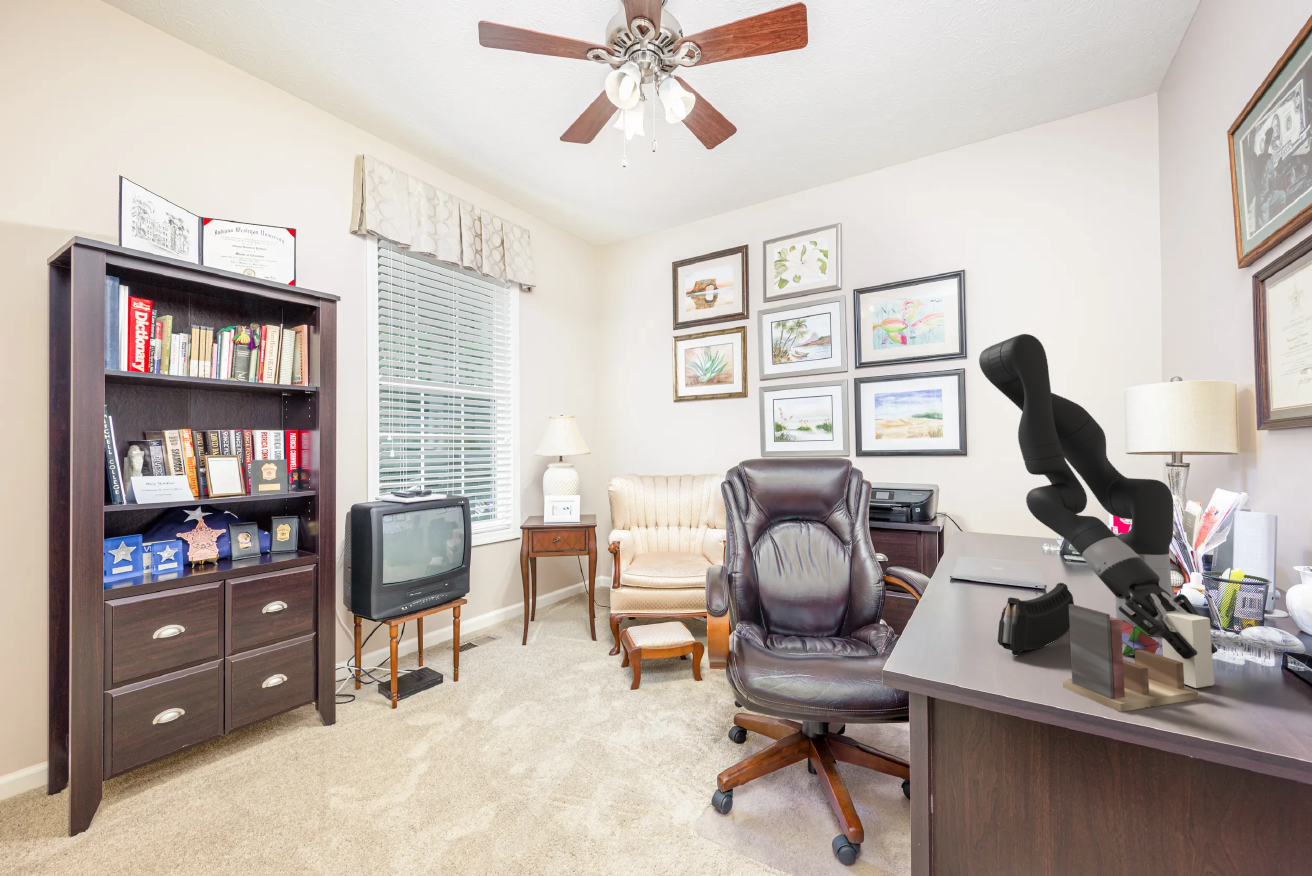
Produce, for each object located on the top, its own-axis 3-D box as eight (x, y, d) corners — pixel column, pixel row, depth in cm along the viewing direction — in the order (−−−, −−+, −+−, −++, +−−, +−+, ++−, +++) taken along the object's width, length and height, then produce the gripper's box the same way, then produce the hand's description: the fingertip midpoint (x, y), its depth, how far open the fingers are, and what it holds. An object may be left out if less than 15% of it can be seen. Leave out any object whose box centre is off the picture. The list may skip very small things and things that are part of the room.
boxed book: (1181, 674, 92) (1177, 610, 92) (1214, 684, 87) (1209, 618, 88) (1164, 676, 91) (1160, 612, 91) (1196, 687, 87) (1191, 620, 87)
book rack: (1135, 676, 92) (1131, 594, 93) (1198, 699, 84) (1193, 608, 84) (1062, 686, 89) (1058, 601, 89) (1120, 711, 80) (1116, 617, 80)
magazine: (1062, 585, 121) (1003, 562, 105) (1079, 587, 118) (1022, 565, 103) (1057, 662, 118) (995, 651, 102) (1074, 666, 115) (1014, 656, 99)
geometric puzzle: (1183, 654, 96) (1152, 611, 101) (1153, 657, 95) (1123, 613, 100) (1150, 665, 102) (1122, 624, 107) (1121, 669, 101) (1094, 627, 106)
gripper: (1103, 558, 95) (1188, 649, 83) (1162, 552, 99) (1253, 639, 86) (1075, 581, 100) (1152, 670, 88) (1132, 575, 104) (1214, 660, 91)
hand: (1201, 654), depth 87 cm, fingers closed on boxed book, 4 cm apart
